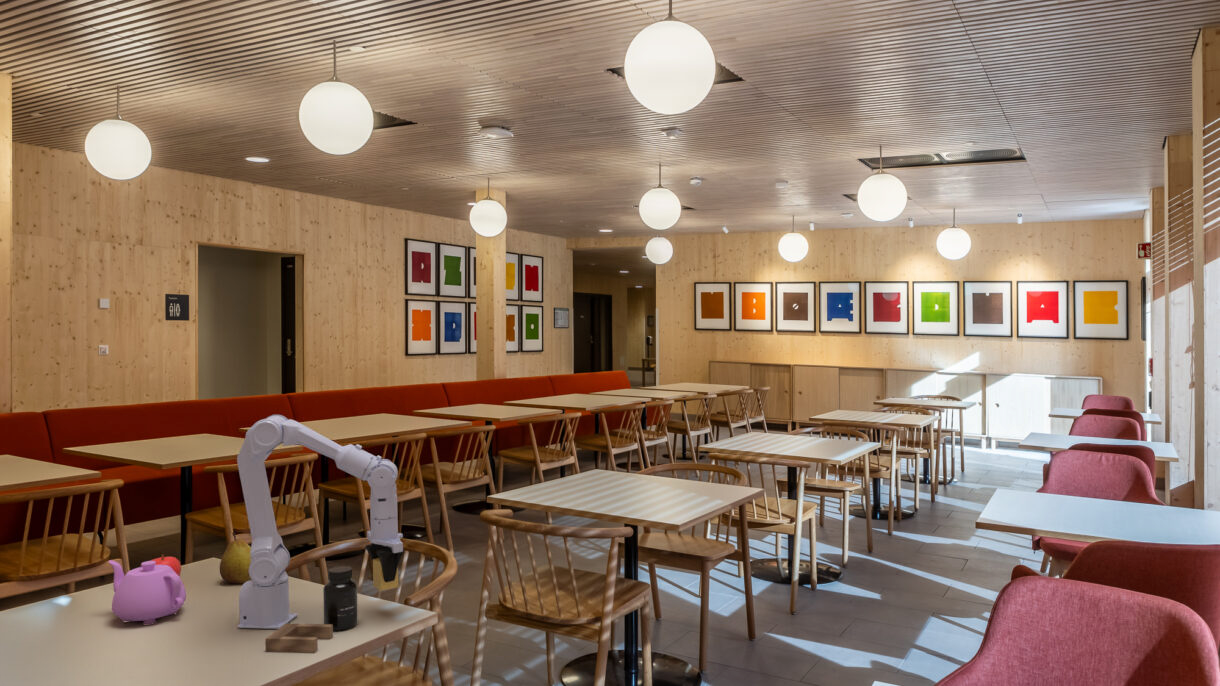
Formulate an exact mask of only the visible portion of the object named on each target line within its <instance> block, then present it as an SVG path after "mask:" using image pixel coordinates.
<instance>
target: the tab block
mask: <svg viewBox="0 0 1220 686" xmlns="http://www.w3.org/2000/svg"><path fill="white" fill-rule="evenodd" d="M372 572H373V573H372V578H373V580H372V581H373V582H372V586H373V587H374V588H375V589H377V590H379V591H381V592H382V591H387V590H391V589H396V588H398V587H399V567H398V568H397V572H396V577H395V580H394V581H390V582H385V581H384V578H383V572H382V565H381V562H380V559H379V558H376V559H373V564H372Z"/></svg>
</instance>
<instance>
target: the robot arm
mask: <svg viewBox="0 0 1220 686" xmlns="http://www.w3.org/2000/svg"><path fill="white" fill-rule="evenodd" d="M281 444H282V446H283V447H286V446H295V445H300V446H303V447H305V448H307V449H309V450H311V451H315V452H316V453H318V454H320V455H323V456H325V457H327V458H330V459H332V460H334V462H335V465H336V468H337V469H339V470H341V471H343V472H345V473H347V474H350V475H351V476H354V477H355V478H358V479H359V480H362V481H364V482H365V481H367V484H368V485H369V487H370V497H369V502H370V505H369V506H370V507H369V509H370V510H369V512H370V516H369V517H370V519H369V520H370V530H368V531H366V540H367V541H369V542H370V543H371V544H366V545H365V547H364V548H365V550H366V552H367V553H368V555H369V557H370V560H371V563H372V565H373V559H376V558H379V559H380V562H381V565H382V572H383V578H384V581H385V582H390V581H394V580H395V577H396V572H397V568H398V569H399V565H400V564H399V563H400V561H401V558H402V557H403V555H404V553H405V549H404V543H403V542H402V541H401V539H402V538H404V535H403V533H401V532H399V529H398V528H399V524H398V523H399V520H398V516H399V515H398V494H397V490H398V488H397V483H396V481H397V479H398V474H399V471H398V467H397V466H396V464H395V463H394V462H392V461H391V460H390V459H388V458H387V459H386V458H382V456H380V455H377V456H376V455H374V454H372V453H369V452H368V451H366V450H364V449H362V448H363V446H362V445H360V444H358V443H357V444H356V445H354V444H351V443H350V444H347V445H341V444H338V443H337V442H335V441H333V440H331V439H329V438H328V437H327V436H324V435H323V434H320V433H318V432H317V431H316V430H315V431H314V430H313V429H312V428H310V427H308V426H306V425H304V424H302V423H300V422H299V421H297V420H294V419H291V418H289V419H288V418H287V417H286V416H284V415H282V414H272V415H269V416H267V417H266V418H263V419H260V420H258V421H256V422H255V423H254V424H253V425H251V427H250V428H249V429H247V432H246V433H245V438H244V440H243V443H242V445H241V447H240V449H239V451H238V454H237V456H236V457H237V458H236V462H237V468H238V473H239V479H240V483H241V489H242V494H243V495H242V496H243V499H244V504H245V510H246V514H247V515H246V516H247V520H248V525H249V530H250V536H251V546H250V547H251V551H250V555H251V564H250V566H249V575H250V578H251V579H252V580H251V581H247V582H245V583H243V584H242V585H241V587H240V590H239V595H238V611H239V612H238V613H239V623H238V624H237V628H238V629H266V630H267V629H268V630H269V629H272V630H273V629H274V630H275V629H276V630H278V629H279V628H281V627H282V626H283V625H285V624H289V622H292V620H293V619H295V618H296V617H298V613H295V612H292V613H291V612H290V595H289V594H290V593H289V591H290V588H289V585H290V584H289V575H288V574H287V572H286V569H287V567H288V566H289V565H290V562H291V556H290V555H291V554H290V552H289V550H288V549H287V548H286V546H285V545H284V542H283V538H282V537H281V535H280V533H278V529H277V522H276V517H275V513H274V512H275V511H274V508H273V502H272V496H271V492H270V490H271V489H270V487H269V481H268V476H267V471H266V470H267V469H266V465H265V461H266V460H267V458H268V457H269V456H270V455H271V454H272V452H273V451H274V450H275V449H276V448H277V447H278V446H280V445H281Z"/></svg>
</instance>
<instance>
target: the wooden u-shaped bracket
mask: <svg viewBox="0 0 1220 686" xmlns="http://www.w3.org/2000/svg"><path fill="white" fill-rule="evenodd" d="M333 638H334V631H333V625H331V624H324V623H287V624H285V625H283V626H282V627H281V628H279V629H276V630H275V631H274V632H272V633H271V634H269V635H268V636H267V637H266V638H265V639H264V640H265V642H264V643H265V645H264V646H265V652H277V653H278V652H279V653H280V652H282V653H283V652H284V653H309V654H310V653H311V654H312V653H313V654H314V653H316V652H317V651H318V650H319V648H318V645H319V644H318V640H331V639H333Z"/></svg>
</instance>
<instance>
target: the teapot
mask: <svg viewBox="0 0 1220 686" xmlns="http://www.w3.org/2000/svg"><path fill="white" fill-rule="evenodd" d="M108 563H109V564H110V565H111V567H112V569H113V583H112V584H113V592H114V595H113V598H112V602H111V611H112V613H113V614H114V615H115V616H116V617H118V618H119V619H120V620H122V621H131V622H139V621H141V622H142V621H143V625H144V624H150V625H153V624H155V623H156V622H157V621H156V619H159V618H162V617H166V616H173V615H172V614H174V615H176V614H175V613H177V614H178V610H179V609H180V608H182V607H183V606H184V604H185V601H186V600H187V592H186V588H185V585H184V583H183V581H182V579H181V576H180V577H179V576H178V575H177V574H176V573H175V571H174V570H173V569H172V568H171V567H170V566H167V565H155V564H156V561H151V560H147V561H146V560H145V561H143V562H141V564H140V566H139V567H136V568H133V569H131V570H129V571H127V572H126V573H124V570H123V566H122V565H121V564H120V562H118V561H115V560H112V559H110V560H108ZM152 623H153V624H152Z"/></svg>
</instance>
